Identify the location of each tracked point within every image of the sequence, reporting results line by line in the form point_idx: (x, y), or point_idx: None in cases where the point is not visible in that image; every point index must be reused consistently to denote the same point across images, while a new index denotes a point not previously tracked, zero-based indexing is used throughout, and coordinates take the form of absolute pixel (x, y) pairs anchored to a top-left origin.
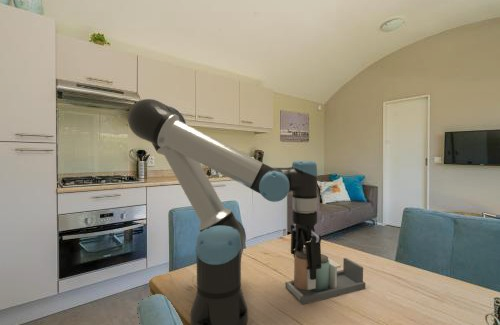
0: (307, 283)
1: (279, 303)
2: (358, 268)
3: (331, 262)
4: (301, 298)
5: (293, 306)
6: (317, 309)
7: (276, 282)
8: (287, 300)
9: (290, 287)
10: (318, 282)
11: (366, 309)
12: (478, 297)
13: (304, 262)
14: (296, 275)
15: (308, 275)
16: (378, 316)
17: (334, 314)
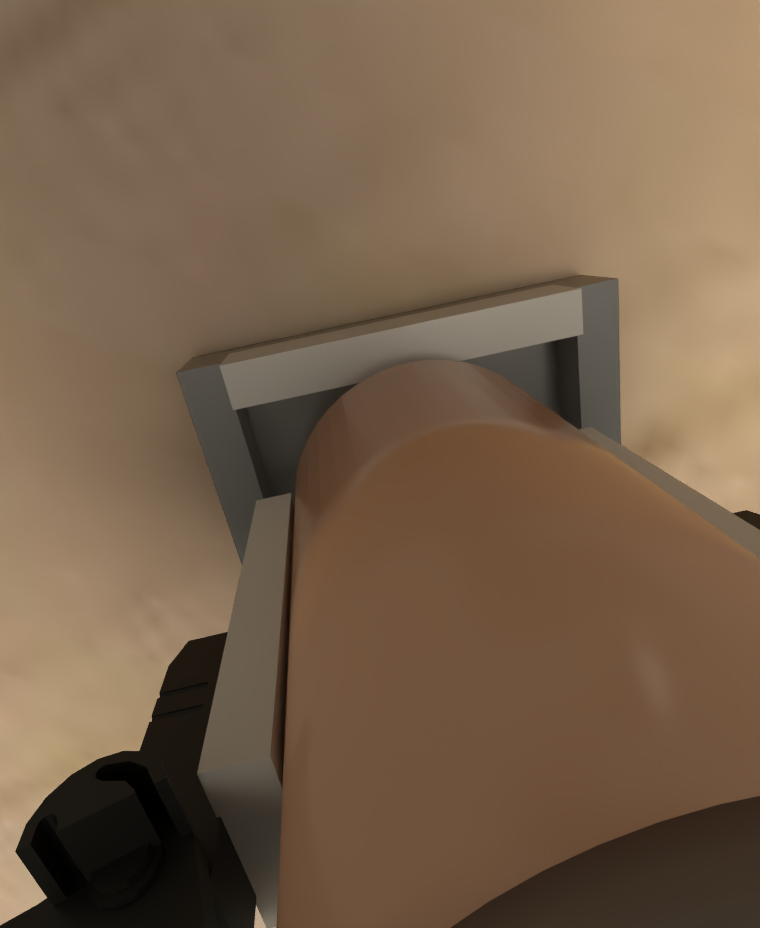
0: (261, 540)
1: (246, 50)
2: None
3: None
4: (195, 366)
5: (165, 234)
6: (98, 487)
7: (735, 193)
8: (302, 200)
9: (475, 308)
10: None
11: None
12: None
13: (288, 877)
14: (418, 426)
15: (228, 646)
16: (4, 875)
17: (14, 607)
